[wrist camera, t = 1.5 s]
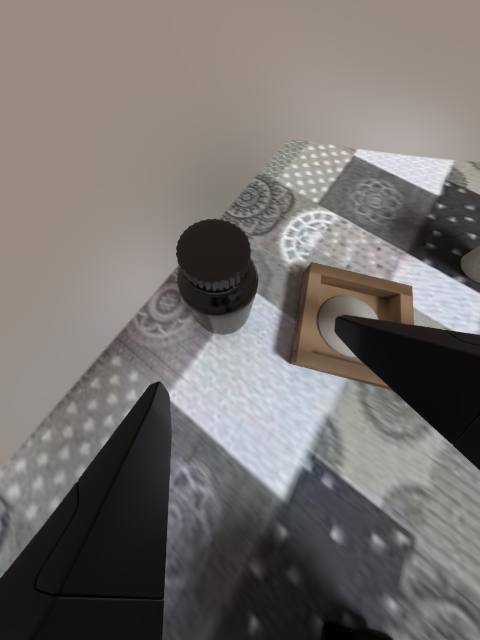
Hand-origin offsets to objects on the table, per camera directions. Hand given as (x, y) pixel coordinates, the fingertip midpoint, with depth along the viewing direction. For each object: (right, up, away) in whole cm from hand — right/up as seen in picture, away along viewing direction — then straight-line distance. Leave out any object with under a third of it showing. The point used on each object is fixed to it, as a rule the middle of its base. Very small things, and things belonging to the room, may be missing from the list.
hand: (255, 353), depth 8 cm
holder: (+13, +1, +14) cm, 19 cm away
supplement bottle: (-3, +3, +14) cm, 15 cm away
